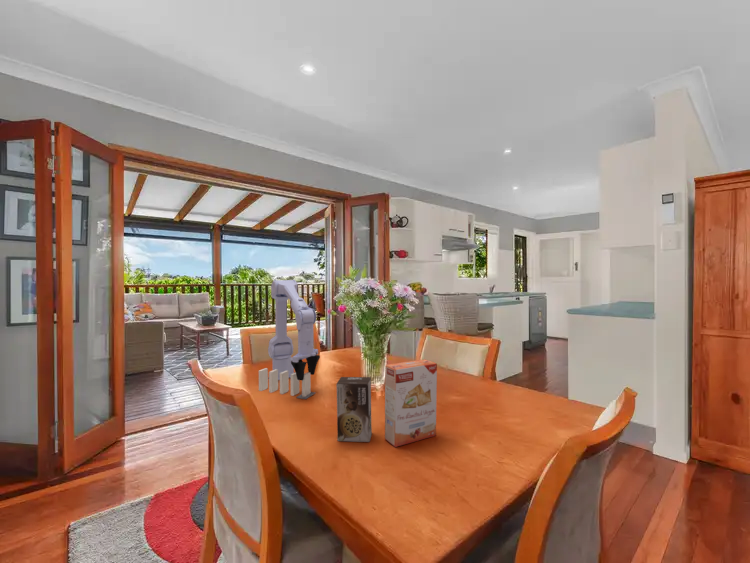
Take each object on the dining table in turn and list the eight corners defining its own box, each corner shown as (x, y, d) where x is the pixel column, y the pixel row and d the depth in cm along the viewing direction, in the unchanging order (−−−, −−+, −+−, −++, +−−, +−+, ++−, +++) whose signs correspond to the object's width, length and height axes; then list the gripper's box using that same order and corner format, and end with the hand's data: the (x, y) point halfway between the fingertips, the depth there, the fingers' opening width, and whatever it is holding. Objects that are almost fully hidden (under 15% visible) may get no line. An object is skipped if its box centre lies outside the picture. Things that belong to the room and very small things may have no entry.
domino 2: (275, 389, 140) (275, 369, 140) (278, 389, 140) (278, 369, 140) (269, 392, 137) (269, 371, 137) (271, 392, 136) (271, 372, 136)
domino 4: (296, 392, 137) (296, 371, 137) (299, 392, 136) (299, 372, 136) (290, 395, 133) (290, 374, 133) (293, 395, 133) (293, 374, 132)
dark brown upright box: (372, 432, 102) (371, 376, 101) (369, 442, 95) (369, 383, 95) (341, 431, 102) (340, 376, 102) (336, 441, 96) (336, 382, 96)
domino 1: (265, 387, 142) (265, 368, 142) (267, 388, 142) (267, 368, 142) (258, 390, 139) (258, 370, 138) (261, 391, 138) (261, 370, 138)
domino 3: (286, 390, 139) (285, 370, 138) (288, 391, 138) (288, 370, 138) (279, 393, 135) (279, 373, 135) (282, 394, 134) (282, 373, 134)
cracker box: (396, 448, 92) (395, 369, 91) (384, 439, 97) (383, 364, 97) (437, 436, 99) (437, 362, 98) (424, 428, 104) (424, 358, 104)
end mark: (306, 392, 137) (306, 391, 137) (315, 393, 135) (315, 392, 135) (296, 397, 130) (296, 397, 130) (305, 399, 129) (305, 398, 129)
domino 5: (307, 392, 135) (307, 372, 135) (310, 393, 134) (310, 372, 134) (301, 396, 131) (301, 374, 131) (304, 396, 131) (304, 375, 131)
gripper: (304, 345, 124) (304, 383, 124) (324, 338, 138) (325, 373, 138) (287, 344, 127) (287, 381, 127) (309, 337, 140) (309, 371, 141)
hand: (306, 377), depth 133 cm, fingers open, 7 cm apart
